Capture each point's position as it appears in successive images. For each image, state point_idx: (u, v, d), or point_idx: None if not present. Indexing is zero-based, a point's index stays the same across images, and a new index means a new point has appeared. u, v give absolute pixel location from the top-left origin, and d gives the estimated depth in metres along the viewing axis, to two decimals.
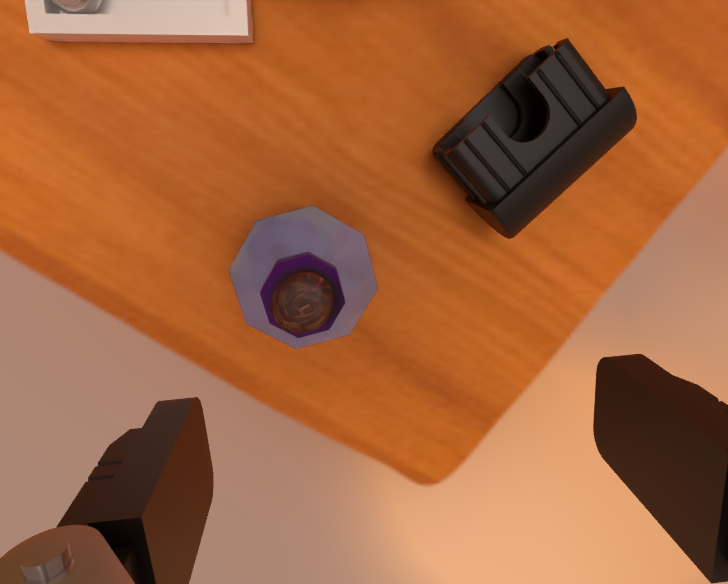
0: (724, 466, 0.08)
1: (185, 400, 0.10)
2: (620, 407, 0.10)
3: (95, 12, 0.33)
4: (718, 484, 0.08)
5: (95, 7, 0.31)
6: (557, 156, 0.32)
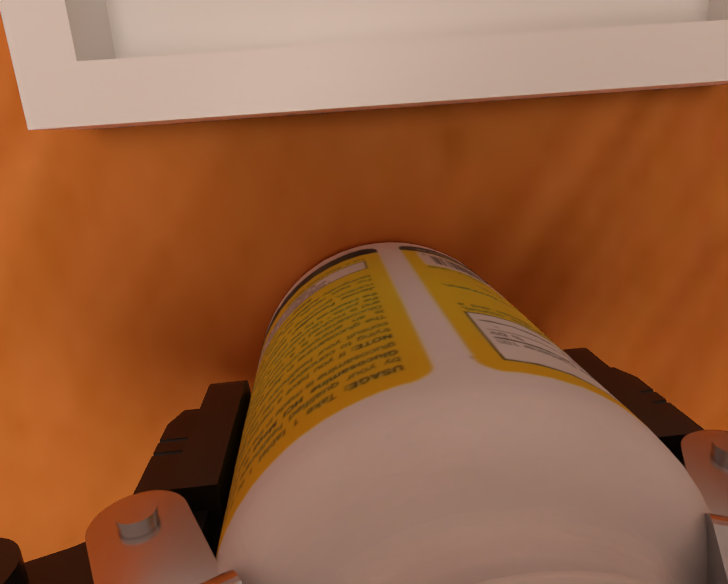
0: None
1: (236, 383, 0.11)
2: None
3: None
4: None
5: None
6: None
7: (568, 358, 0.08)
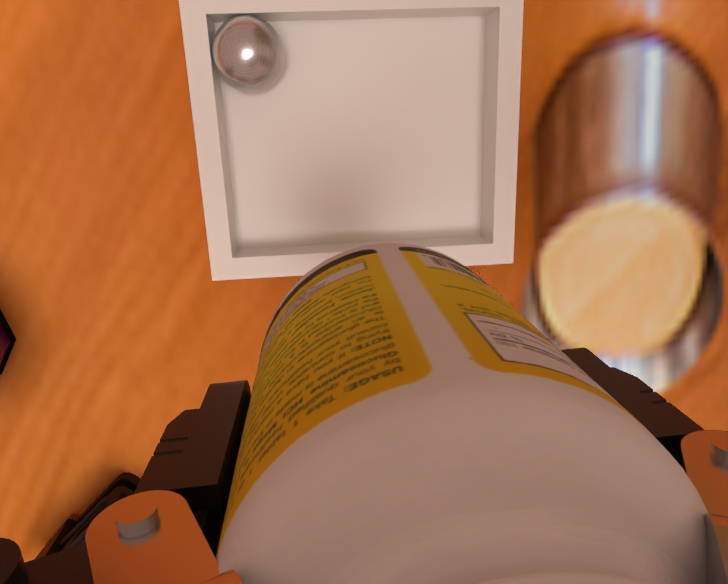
0: None
1: (237, 382, 0.11)
2: None
3: None
4: None
5: None
6: None
7: (567, 359, 0.08)
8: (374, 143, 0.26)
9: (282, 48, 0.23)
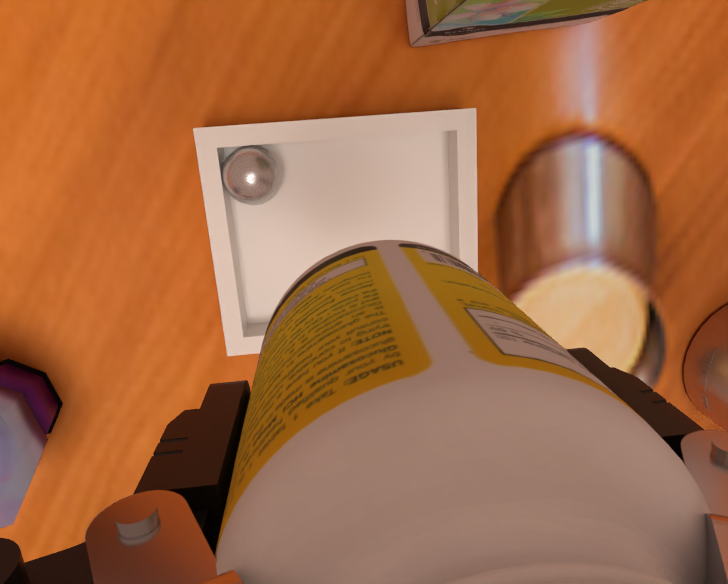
0: None
1: (237, 383, 0.11)
2: None
3: None
4: None
5: None
6: None
7: (567, 354, 0.08)
8: (359, 235, 0.31)
9: (279, 170, 0.28)
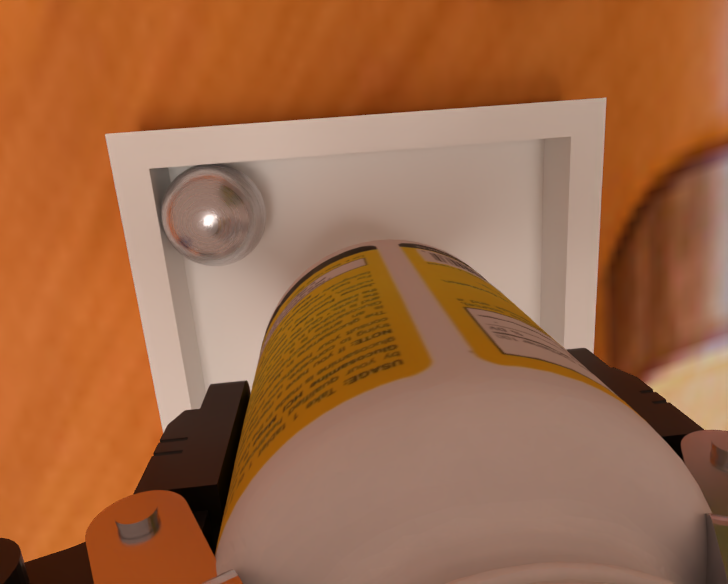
0: None
1: (237, 383, 0.11)
2: None
3: None
4: None
5: None
6: None
7: (567, 353, 0.08)
8: None
9: (261, 208, 0.16)
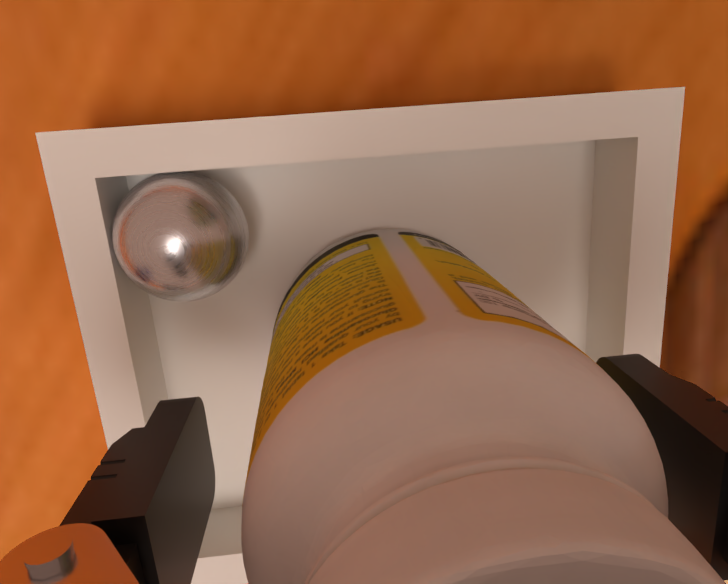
0: (721, 466, 0.08)
1: (187, 399, 0.10)
2: None
3: None
4: (715, 483, 0.08)
5: None
6: None
7: (541, 318, 0.09)
8: None
9: (242, 228, 0.13)
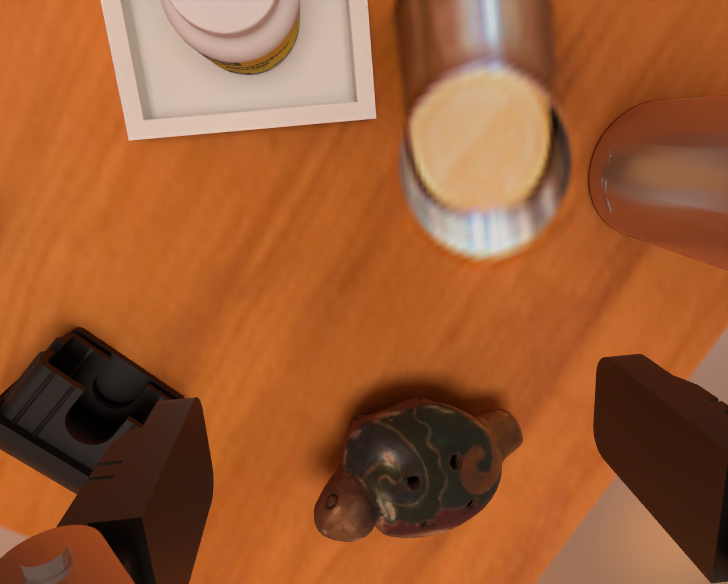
0: (724, 466, 0.08)
1: (185, 400, 0.10)
2: (620, 407, 0.10)
3: None
4: (718, 484, 0.08)
5: None
6: (55, 461, 0.33)
7: None
8: None
9: None
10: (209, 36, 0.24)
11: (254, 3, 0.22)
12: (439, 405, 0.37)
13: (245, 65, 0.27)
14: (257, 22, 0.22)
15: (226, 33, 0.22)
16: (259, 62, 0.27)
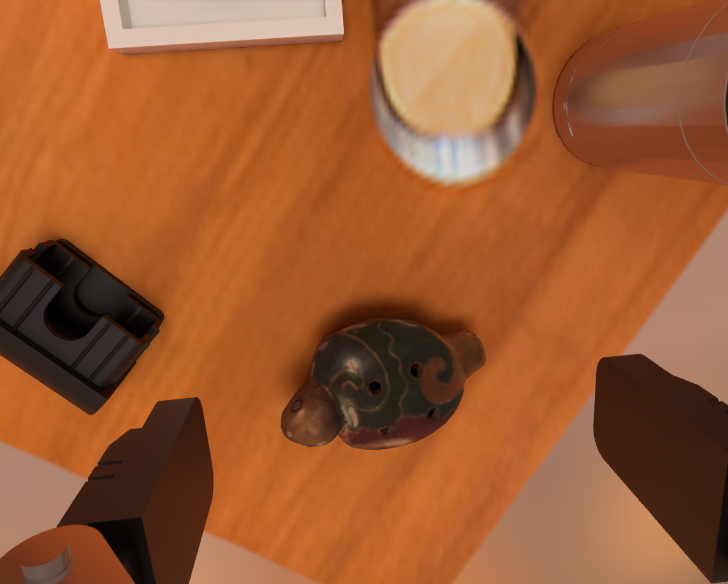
0: (724, 466, 0.08)
1: (185, 400, 0.10)
2: (620, 407, 0.10)
3: None
4: (718, 484, 0.08)
5: None
6: (33, 353, 0.34)
7: None
8: None
9: None
10: None
11: None
12: (404, 320, 0.39)
13: None
14: None
15: None
16: None
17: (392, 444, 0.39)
